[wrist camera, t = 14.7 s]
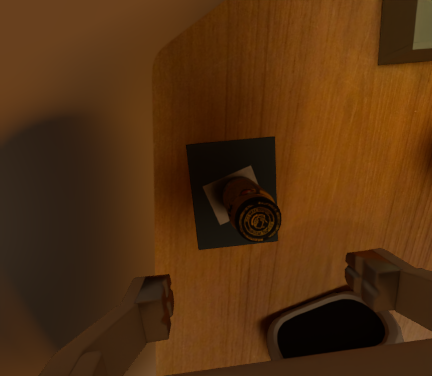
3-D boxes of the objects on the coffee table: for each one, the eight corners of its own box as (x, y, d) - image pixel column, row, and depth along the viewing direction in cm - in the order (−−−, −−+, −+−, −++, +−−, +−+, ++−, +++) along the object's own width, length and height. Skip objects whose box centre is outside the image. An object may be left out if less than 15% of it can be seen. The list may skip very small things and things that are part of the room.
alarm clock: (355, 279, 40) (430, 346, 27) (366, 316, 42) (441, 395, 29) (257, 318, 40) (283, 402, 27) (273, 353, 42) (303, 446, 29)
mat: (186, 144, 33) (185, 144, 32) (273, 136, 33) (274, 136, 32) (198, 247, 36) (198, 250, 36) (276, 239, 37) (277, 241, 36)
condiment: (266, 204, 35) (297, 236, 23) (220, 224, 35) (228, 265, 23) (250, 165, 33) (276, 177, 21) (202, 186, 33) (201, 209, 22)
